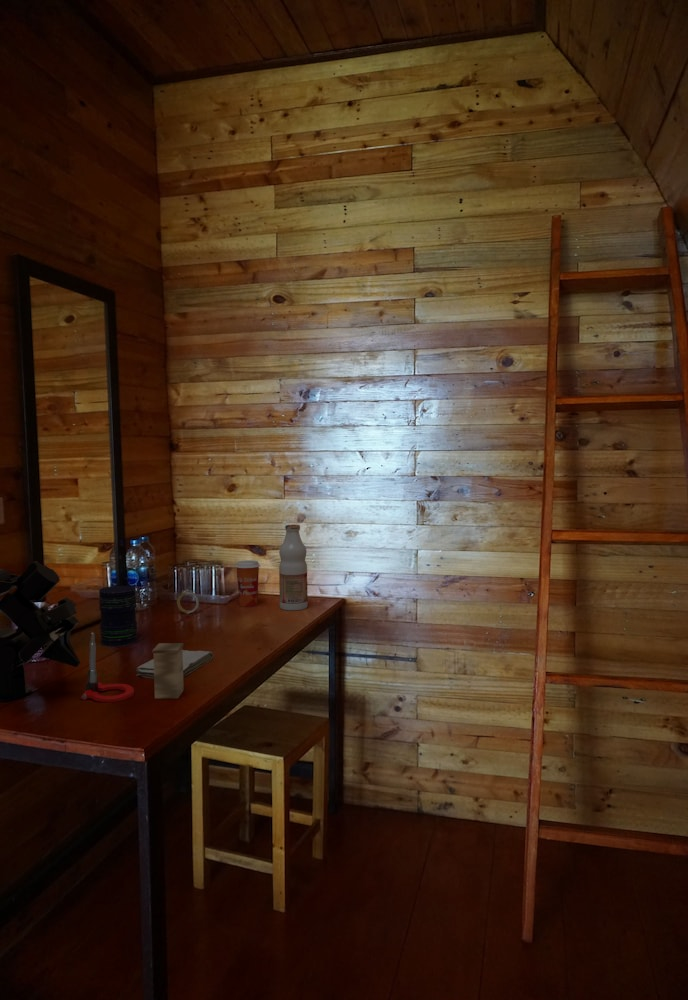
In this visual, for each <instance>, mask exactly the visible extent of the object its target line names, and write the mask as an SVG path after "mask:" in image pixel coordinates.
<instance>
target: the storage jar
mask: <svg viewBox="0 0 688 1000" xmlns="http://www.w3.org/2000/svg"><path fill="white" fill-rule="evenodd" d="M124 580H130V577H124ZM98 593H99V597H98V598H99V599H98V604H99V611H100V624H99V628H100V629H99V635H100V645H101V646H104V647H111V648H112V647H114V648H115V647H116V648H117V647H125V646H129V645H133V644H135V643H136V642H138V636H137V635H138V626H137V625H138V623H137V622H138V621H137V619H136V608H137V596H136V594H137V593H136V587H135V586H132V585H111V586H106V587H103V588H100V589H99V590H98Z"/></svg>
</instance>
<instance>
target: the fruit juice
mask: <svg viewBox="0 0 688 1000" xmlns="http://www.w3.org/2000/svg"><path fill="white" fill-rule="evenodd" d="M284 530H285V537H284V539H283V542H282V544H281V546H280V547H279V552H278V553H279V557H280V563H279V565H278V566H279V567H278V568H279V570H278V574H279V575H278V577H279V579H278V582H279V586H278V587H279V588H278V589H279V607H280V609H281V610H283V611H290V612H291V611H302V610H306V609H307V608H308V598H309V597H308V564H307V561H306V557H307V547H306V546H305V545H306V544H304V543H303V541H302V538H301V536H300V535H301V534H300V530H301V526H300V525H299V524H286V525H285V526H284Z"/></svg>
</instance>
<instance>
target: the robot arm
mask: <svg viewBox="0 0 688 1000" xmlns="http://www.w3.org/2000/svg"><path fill="white" fill-rule="evenodd" d="M60 580H61V579H60V576H59V574H58V573H57V572H56V571H55V570H54V569H53V568H50V567H49V566H47V565H45V564H42V563H40V562H39V561H37V560H36V561H33V562H31V564H29V565H28V567H27V568H26V570H24V572H23V573H22V574H21V575H19V574H14V573H9V571H7V570H5V569H4V568H0V596H2V595H4V596H3V597H1V599H0V614H1V613H3V614H4V616H6V617H7V618H8V619H9V620H10V621H11V622H12V623H13V624H14V625H15V626H16V627H17V628H16V629H15V628H10V627H4V628H2V629H0V701H1V702H5V703H6V702H9V701H12V700H15V699H18V698H20V697H23V696H27V695H29V694H32V692H33V691H32V689H28V688H26V675H25V674H26V673H25V666H24V665H25V664H28V663H29V662H30V661H33V659H34V656H35V655H36V654H37V653H38V652H39V651H40V650H41V651H42V653H41V654H40V655H39V656H38V657H39V658H41V659H42V658H44V659H48V660H51V661H56V662H58V663H63V664H66V665H68V666H72V667H75V668H77V667H78V666H79V665H80V664H81V661H80V659H79V658H78V655H77V653H76V651H75V649H74V647H73V646H72V643H71V642H70V641H71V640H70V638H71V633H72V630H73V629H74V628H75V627H76V626H77V625H78V624H79V623H80V621H79V619H77V618H76V616H74V615H76V614H78V612H77V610H76V606H77V603H76V602H74V600H72V599H70V598H69V597H65V598H62V599H60V600H58V601H57V606H55V607H54V608H52V609H50V610H49V609H48V608H47V607H46V606H45V607H44V606H42V607H40V606H38V605H37V604H36V603H35V602H34V601H42V600H43V599H44V598H45V596H46V595H47V594H49V592H51V590H52V589H54V588H55V586H57V585H58V583H59V582H60ZM15 588H16V589H15ZM13 589H15V590H14V591H13V592H10V591H11V590H13Z"/></svg>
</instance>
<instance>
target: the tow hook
mask: <svg viewBox="0 0 688 1000" xmlns="http://www.w3.org/2000/svg"><path fill="white" fill-rule="evenodd" d="M95 636H96V635H95V632H93V631H92V632H90V642H89V644H88V646H89V647H88V650H89V653H88V654H89V657H88V658H89V661H88V665H89V668H88V670H87V682H86V684H85V689H86V690H85V691H84V692H83V693H82V694H81V696H80V698H81V700H83V701H86V700H88V699H90V700H91V699H92V701H93V700H94V701H96V702H99V703H100V702H101V703H114V702H121V701H124V700H126V699H129V698H130V697H132V696H133V695H134V692H135V689H134V687H133V686H132V685H129V684H126V683H107V684H103V683H102V682H100V681H99V680H97V679H98V678H97V677H98V676H97V674H98V673H97V672H98V671H97V669H96V655H97V653H96V646H97V645H96V642H95V641H96V640H95V639H96V638H95ZM110 690H121V691H123V693H120V694H116V695H102V694H100V693H99V692H104V691H110Z"/></svg>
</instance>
